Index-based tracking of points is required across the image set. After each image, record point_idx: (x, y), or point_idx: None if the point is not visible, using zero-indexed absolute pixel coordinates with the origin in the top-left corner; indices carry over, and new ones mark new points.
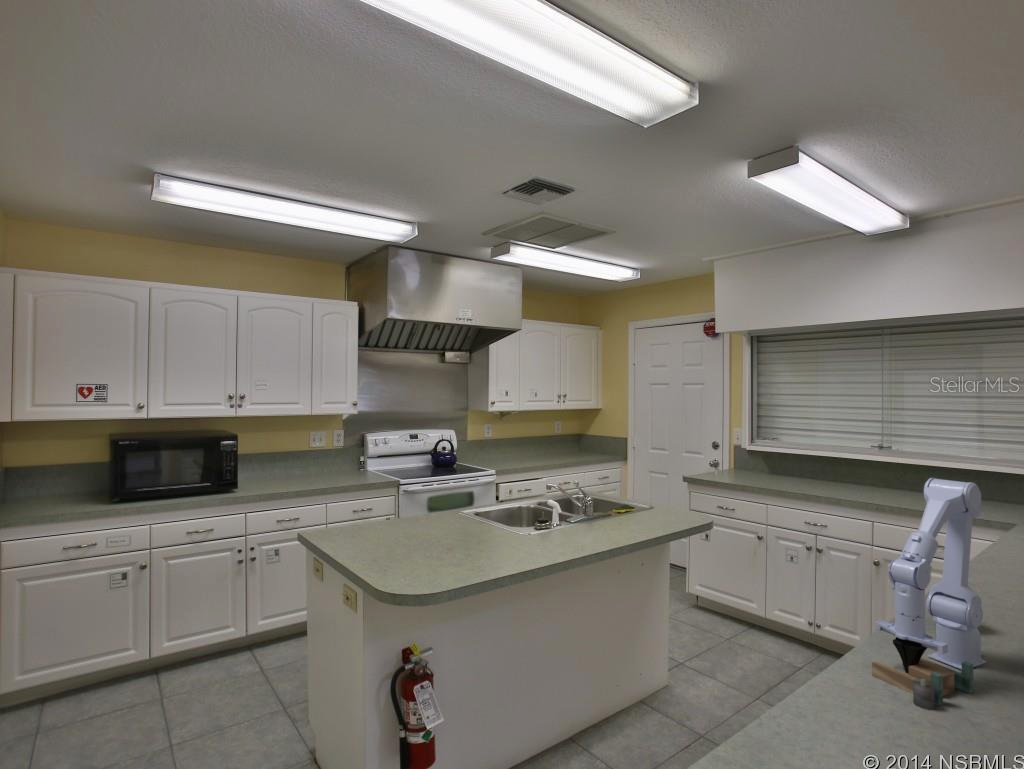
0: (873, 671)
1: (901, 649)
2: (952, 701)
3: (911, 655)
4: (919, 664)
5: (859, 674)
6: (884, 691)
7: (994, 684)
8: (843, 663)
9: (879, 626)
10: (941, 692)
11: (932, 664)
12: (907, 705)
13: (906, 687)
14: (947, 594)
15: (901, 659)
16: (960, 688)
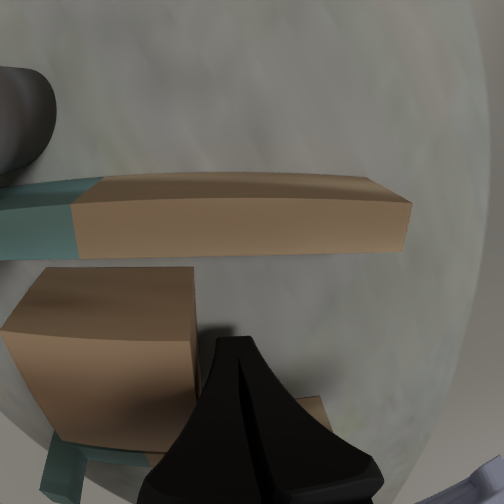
0: (371, 184)
1: (286, 448)
2: (14, 290)
3: (192, 438)
4: (185, 415)
5: (407, 127)
6: (208, 36)
7: (109, 471)
8: (485, 184)
9: (496, 488)
10: None
11: (161, 451)
12: (49, 21)
13: (139, 178)
14: None
15: (280, 383)
16: None
